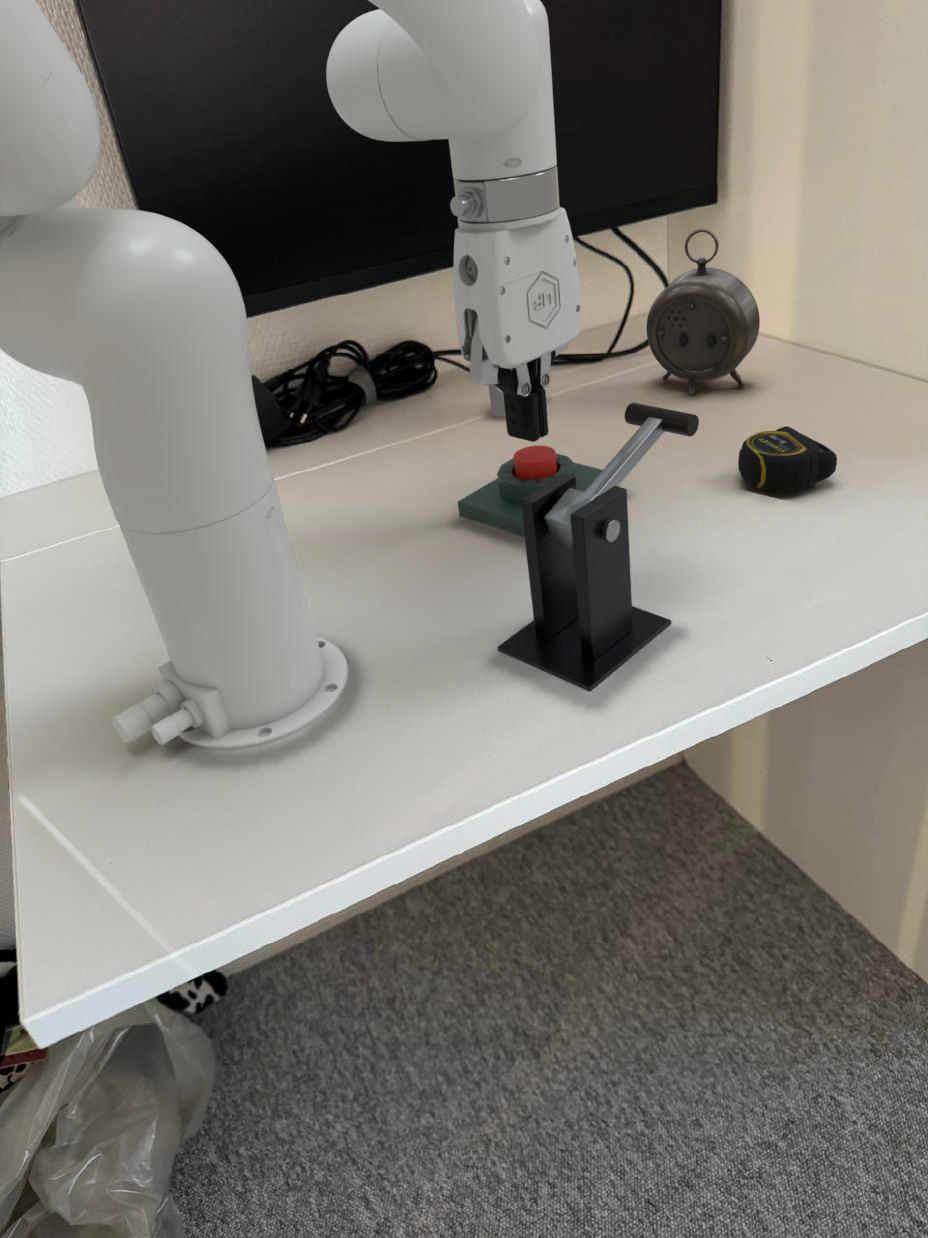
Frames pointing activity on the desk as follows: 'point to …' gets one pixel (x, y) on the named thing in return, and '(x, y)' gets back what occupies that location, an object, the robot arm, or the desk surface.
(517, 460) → the button
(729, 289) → the alarm clock
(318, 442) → the desk surface
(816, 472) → the tape measure
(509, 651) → the bracket
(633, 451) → the lever
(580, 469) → the green switch base
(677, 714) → the desk surface
